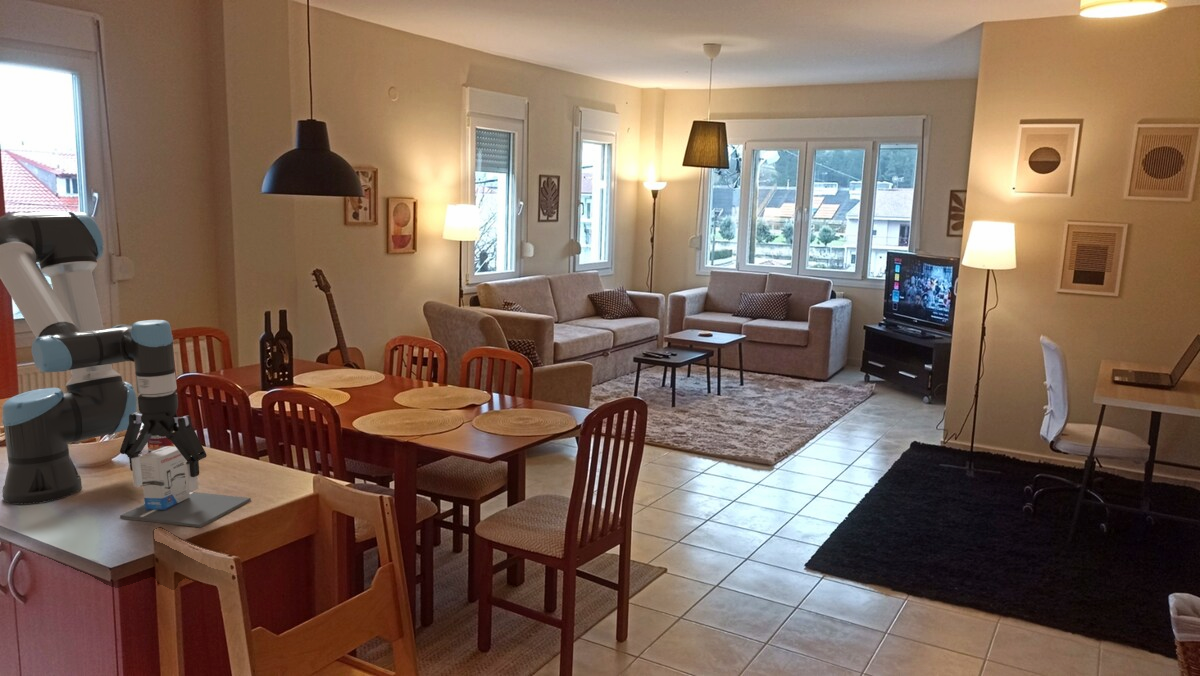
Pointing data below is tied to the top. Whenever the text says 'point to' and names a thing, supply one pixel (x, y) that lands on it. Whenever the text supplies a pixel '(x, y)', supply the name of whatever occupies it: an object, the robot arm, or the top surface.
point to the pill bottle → (158, 442)
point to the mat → (189, 510)
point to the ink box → (163, 478)
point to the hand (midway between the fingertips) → (166, 488)
